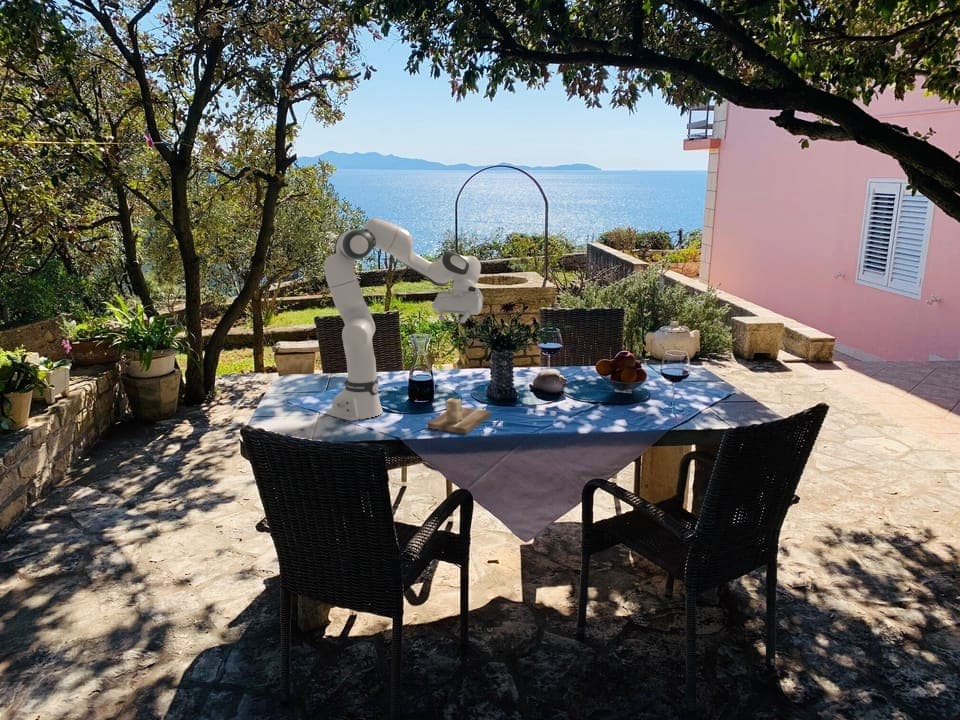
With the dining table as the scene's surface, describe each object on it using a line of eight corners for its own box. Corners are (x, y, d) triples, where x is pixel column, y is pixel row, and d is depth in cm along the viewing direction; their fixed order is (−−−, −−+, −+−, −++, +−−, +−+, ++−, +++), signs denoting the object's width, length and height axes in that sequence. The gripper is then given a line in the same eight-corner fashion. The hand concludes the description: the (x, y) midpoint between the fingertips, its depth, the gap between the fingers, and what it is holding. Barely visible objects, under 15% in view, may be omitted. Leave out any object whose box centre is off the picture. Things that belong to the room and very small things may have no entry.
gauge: (446, 421, 255) (445, 401, 253) (451, 418, 258) (450, 398, 256) (460, 423, 252) (459, 402, 250) (464, 420, 256) (463, 399, 253)
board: (427, 428, 254) (427, 423, 253) (453, 411, 272) (453, 406, 272) (466, 434, 247) (466, 428, 247) (490, 416, 266) (490, 410, 265)
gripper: (436, 286, 276) (425, 315, 270) (482, 288, 267) (472, 318, 261) (441, 296, 281) (431, 324, 275) (487, 298, 272) (477, 327, 266)
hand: (451, 321), depth 268 cm, fingers open, 8 cm apart
